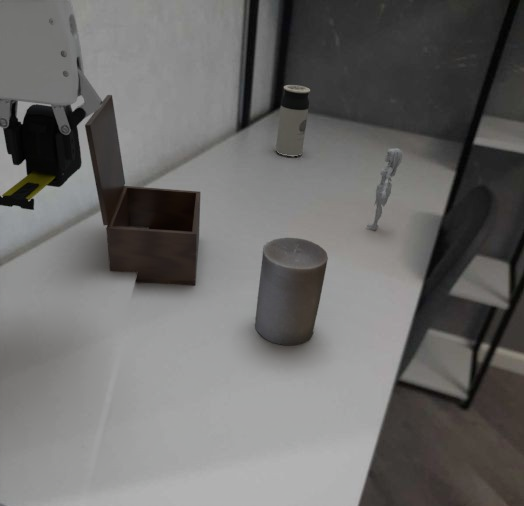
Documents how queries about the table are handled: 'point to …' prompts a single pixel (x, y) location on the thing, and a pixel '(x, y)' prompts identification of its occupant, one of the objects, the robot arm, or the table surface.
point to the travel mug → (292, 120)
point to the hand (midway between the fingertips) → (43, 161)
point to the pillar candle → (289, 290)
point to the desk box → (155, 235)
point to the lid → (106, 157)
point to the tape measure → (40, 157)
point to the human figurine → (386, 183)
